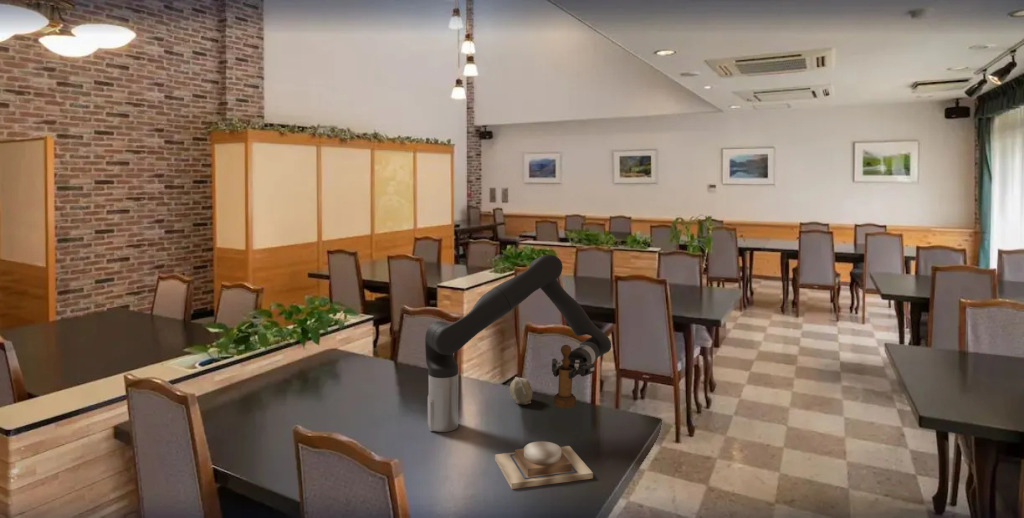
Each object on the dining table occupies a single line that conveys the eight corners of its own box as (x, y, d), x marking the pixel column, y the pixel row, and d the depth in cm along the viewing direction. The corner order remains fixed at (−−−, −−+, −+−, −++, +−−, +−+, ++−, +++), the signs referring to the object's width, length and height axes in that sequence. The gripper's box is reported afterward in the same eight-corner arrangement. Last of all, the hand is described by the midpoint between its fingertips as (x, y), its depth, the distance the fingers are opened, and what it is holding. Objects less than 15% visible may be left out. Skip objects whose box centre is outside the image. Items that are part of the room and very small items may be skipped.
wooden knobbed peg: (574, 409, 176) (576, 349, 174) (552, 407, 177) (553, 347, 175) (576, 401, 182) (578, 343, 180) (555, 399, 184) (556, 341, 181)
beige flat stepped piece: (511, 489, 152) (511, 468, 152) (495, 459, 169) (495, 440, 168) (592, 478, 158) (593, 458, 158) (569, 450, 175) (569, 432, 174)
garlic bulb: (524, 413, 209) (523, 390, 205) (503, 404, 214) (503, 382, 209) (538, 398, 216) (538, 375, 212) (518, 389, 220) (517, 367, 216)
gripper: (559, 344, 194) (539, 358, 178) (602, 350, 188) (586, 365, 172) (559, 367, 195) (539, 383, 179) (602, 373, 189) (585, 390, 173)
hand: (562, 374), depth 176 cm, fingers closed on wooden knobbed peg, 4 cm apart
